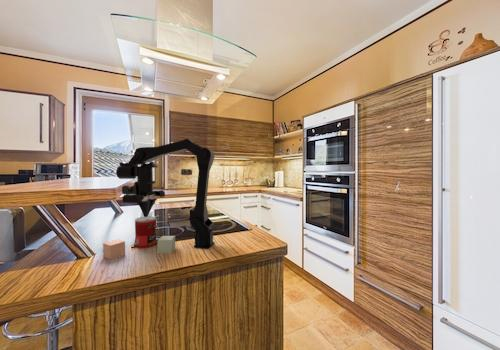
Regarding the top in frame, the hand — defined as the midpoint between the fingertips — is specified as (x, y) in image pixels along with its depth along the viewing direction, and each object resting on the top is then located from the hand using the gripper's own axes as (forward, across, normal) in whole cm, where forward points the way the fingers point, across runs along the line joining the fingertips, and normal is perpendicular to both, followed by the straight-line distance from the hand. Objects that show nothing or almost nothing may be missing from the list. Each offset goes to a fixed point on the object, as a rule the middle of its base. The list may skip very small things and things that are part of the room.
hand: (145, 216), depth 89 cm
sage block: (+12, +4, +12) cm, 17 cm away
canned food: (+12, 0, 0) cm, 12 cm away
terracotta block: (+12, +12, -4) cm, 17 cm away
